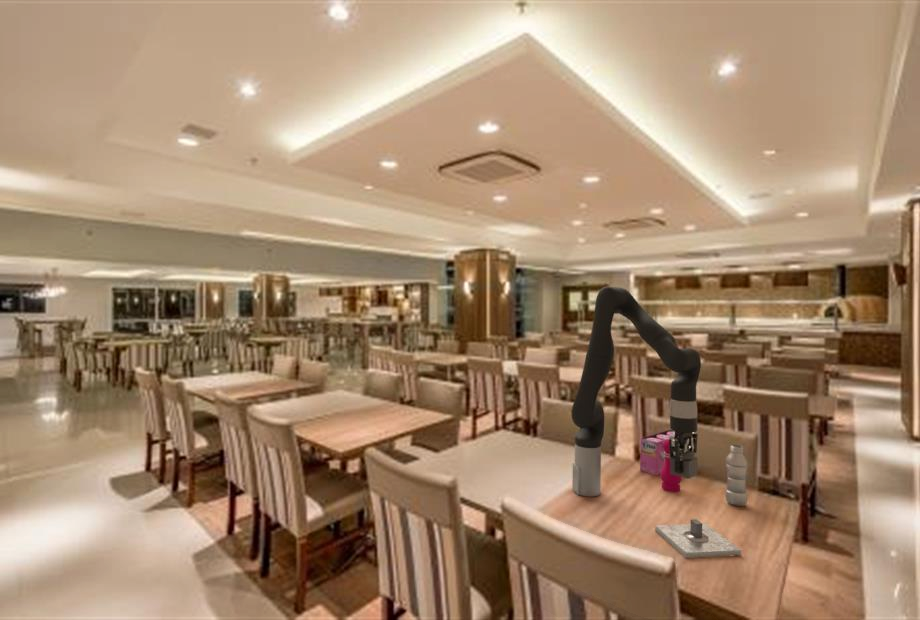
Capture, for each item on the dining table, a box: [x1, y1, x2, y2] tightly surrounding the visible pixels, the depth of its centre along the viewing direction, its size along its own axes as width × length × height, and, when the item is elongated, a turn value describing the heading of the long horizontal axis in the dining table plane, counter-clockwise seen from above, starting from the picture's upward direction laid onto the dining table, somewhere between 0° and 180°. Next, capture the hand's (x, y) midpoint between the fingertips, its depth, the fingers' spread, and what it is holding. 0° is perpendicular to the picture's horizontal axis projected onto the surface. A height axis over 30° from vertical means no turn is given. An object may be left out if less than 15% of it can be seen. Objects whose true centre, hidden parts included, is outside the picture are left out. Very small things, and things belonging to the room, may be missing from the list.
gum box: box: [639, 429, 675, 476], centre depth 201 cm, size 24×8×14 cm, turn 127°
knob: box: [670, 448, 698, 479], centre depth 145 cm, size 6×6×7 cm
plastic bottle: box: [724, 444, 748, 507], centre depth 164 cm, size 6×7×20 cm
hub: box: [654, 518, 742, 559], centre depth 138 cm, size 16×16×6 cm
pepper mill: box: [659, 435, 683, 493], centre depth 177 cm, size 7×7×20 cm
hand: (683, 470), depth 145 cm, fingers closed on knob, 6 cm apart
